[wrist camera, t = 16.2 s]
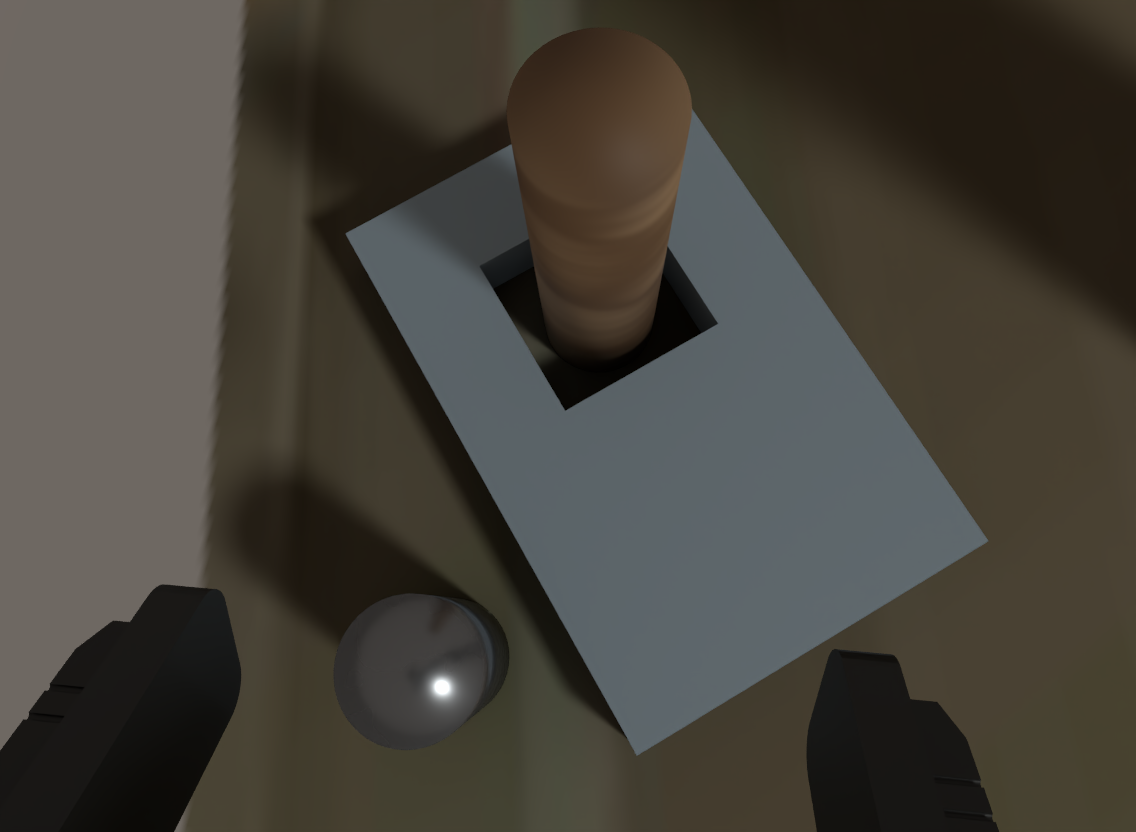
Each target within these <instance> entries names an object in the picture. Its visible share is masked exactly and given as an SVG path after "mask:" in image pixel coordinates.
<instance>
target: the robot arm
mask: <svg viewBox="0 0 1136 832" xmlns="http://www.w3.org/2000/svg"><path fill="white" fill-rule="evenodd" d="M240 685H241V667H240V662H239V658H238V653H237V649H236V645H235V640H234V636H233V632H232V628H231V623H230V619H229V615H228V610H227V606H226V602H225V598H224V596H223V594H222V593H221V591H219V590H217V589H207V588H196V587H185V586H175V585H159V586H158V587H156V588H155V589H154V590H153V591H152V592H151V593H150V594H149V596H148V597H147V598H146V600H145V601H144V603H143V604H142V606H141V607H140V609H139V610H138V611H137V613H136V614H135V616H134V617H133V619H132V620H131V621H130V622H122V621H112V622H111V623H109V624H108V625H107V626H105V627H104V628H103V629H101V630H100V631H99V632H97V633H96V634H95V635H93V636H92V637H91V638H90V639H88V640H87V641H86V642H84V643H83V644H82V645H80V646H79V647H78V648H76V649H75V651H74V652H73V653H72V655H71V656H70V657H69V659H68V660H67V661H66V663H65V664H64V665H63V667H62V668H61V670H60V671H59V672H58V673H57V675H56V676H55V678H54V679H53V680H52V682H51V683H50V688H49V690H48V691H44V693H43V694H42V695H41V696H40V698H39V699H38V700H37V702H36V703H35V705H34V706H33V707H32V709H31V710H30V711H29V717H28V719H27V720H23V721H22V722H21V724H20V725H19V726H18V727H17V729H16V730H15V732H14V733H13V734H12V736H11V737H10V738H9V740H8V741H7V742H6V744H5V745H4V746H3V748H2V749H1V750H0V832H174V831H175V829H176V827H177V825H178V823H179V821H180V819H181V817H182V815H183V813H184V811H185V809H186V807H187V805H188V803H189V801H190V799H191V797H192V795H193V793H194V791H195V789H196V787H197V785H198V783H199V781H200V779H201V777H202V775H203V773H204V771H205V769H206V767H207V765H208V763H209V761H210V759H211V757H212V755H213V753H214V751H215V749H216V747H217V745H218V743H219V741H220V739H221V737H222V735H223V733H224V731H225V729H226V727H227V725H228V723H229V721H230V719H231V717H232V715H233V712H234V710H235V707H236V704H237V700H238V696H239V692H240ZM807 771H808V779H809V785H810V791H811V797H812V803H813V810H814V816H815V822H816V828H817V832H999V830H998V827H997V824H996V822H993V820H992V814H993V813H992V810H991V807H990V804H989V802H988V799H987V796H986V793H985V790H984V788H981V785H980V781H981V779H980V776H979V773H978V770H977V767H976V764H975V762H974V759H973V756H972V753H971V750H970V747H969V744H968V742H967V739H966V737H965V736H964V735H963V734H962V732H961V731H960V730H959V729H958V727H957V726H956V725H955V724H954V722H953V721H952V720H951V719H950V717H949V716H948V715H947V714H946V712H945V711H944V710H943V709H942V707H941V706H940V705H939V704H938V702H932V701H922V700H912V699H910V697H909V694H908V690H907V687H906V684H905V680H904V677H903V674H902V670H901V667H900V664H899V662H898V660H897V658H896V657H895V656H894V655H891V654H881V653H870V652H859V651H849V650H838V649H834V650H832V652H831V653H830V655H829V658H828V661H827V664H826V668H825V671H824V675H823V678H822V682H821V685H820V689H819V692H818V696H817V699H816V703H815V706H814V710H813V713H812V717H811V720H810V724H809V729H808V736H807Z"/></svg>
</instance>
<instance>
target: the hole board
mask: <svg viewBox="0 0 1136 832" xmlns="http://www.w3.org/2000/svg"><path fill="white" fill-rule="evenodd" d="M346 236H347V237H348V239H349V241H350V243H351V245H352V246H353V248H354V250H355V252H356V254H357V255H358V257H359V259H360V261H361V262H362V264H363V266H364V268H365V270H366V271H367V273H368V275H369V277H370V279H371V280H372V282H373V284H374V286H375V288H376V289H377V291H378V293H379V295H380V297H381V298H382V300H383V302H384V304H385V305H386V307H387V309H388V311H389V313H390V314H391V316H392V318H393V320H394V322H395V323H396V325H397V327H398V329H399V331H400V332H401V334H402V336H403V338H404V339H405V341H406V343H407V345H408V347H409V348H410V350H411V352H412V354H413V356H414V357H415V359H416V361H417V363H418V365H419V366H420V368H421V370H422V372H423V373H424V375H425V377H426V379H427V381H428V382H429V384H430V386H431V388H432V390H433V391H434V393H435V395H436V397H437V399H438V400H439V402H440V404H441V406H442V407H443V409H444V411H445V413H446V415H447V416H448V418H449V420H450V422H451V424H452V425H453V427H454V429H455V431H456V433H457V434H458V436H459V438H460V440H461V441H462V443H463V445H464V447H465V449H466V450H467V452H468V454H469V456H470V458H471V459H472V461H473V463H474V465H475V467H476V468H477V470H478V472H479V474H480V475H481V477H482V479H483V481H484V483H485V484H486V486H487V488H488V490H489V492H490V493H491V495H492V497H493V499H494V501H495V502H496V504H497V506H498V508H499V510H500V511H501V513H502V515H503V517H504V518H505V520H506V522H507V524H508V526H509V527H510V529H511V531H512V533H513V535H514V536H515V538H516V540H517V542H518V544H519V545H520V547H521V549H522V551H523V552H524V554H525V556H526V558H527V560H528V561H529V563H530V565H531V567H532V569H533V570H534V572H535V574H536V576H537V578H538V579H539V581H540V583H541V585H542V586H543V588H544V590H545V592H546V594H547V595H548V597H549V599H550V601H551V603H552V604H553V606H554V608H555V610H556V612H557V613H558V615H559V617H560V619H561V620H562V622H563V624H564V626H565V628H566V629H567V631H568V633H569V635H570V637H571V638H572V640H573V642H574V644H575V646H576V647H577V649H578V651H579V653H580V654H581V656H582V658H583V660H584V662H585V663H586V665H587V667H588V669H589V671H590V672H591V674H592V676H593V678H594V680H595V681H596V683H597V685H598V687H599V688H600V690H601V692H602V694H603V696H604V697H605V699H606V701H607V703H608V705H609V706H610V708H611V710H612V712H613V714H614V715H615V717H616V719H617V721H618V723H619V724H620V726H621V728H622V730H623V731H624V733H625V735H626V737H627V739H628V740H629V742H630V744H631V746H632V748H633V749H634V751H635V753H636V755H639V754H640V753H642V752H644V751H645V750H647V749H649V748H650V747H652V746H653V745H655V744H657V743H658V742H660V741H662V740H663V739H665V738H667V737H668V736H670V735H671V734H673V733H675V732H676V731H678V730H680V729H681V728H683V727H685V726H686V725H688V724H689V723H691V722H693V721H694V720H696V719H698V718H699V717H701V716H703V715H704V714H706V713H708V712H709V711H711V710H712V709H714V708H716V707H717V706H719V705H721V704H722V703H724V702H726V701H727V700H729V699H730V698H732V697H734V696H735V695H737V694H739V693H740V692H742V691H744V690H745V689H747V688H749V687H750V686H752V685H753V684H755V683H757V682H758V681H760V680H762V679H763V678H765V677H767V676H768V675H770V674H771V673H773V672H775V671H776V670H778V669H780V668H781V667H783V666H785V665H786V664H788V663H789V662H791V661H793V660H794V659H796V658H798V657H799V656H801V655H803V654H804V653H806V652H808V651H809V650H811V649H812V648H814V647H816V646H817V645H819V644H821V643H822V642H824V641H826V640H827V639H829V638H830V637H832V636H834V635H835V634H837V633H839V632H840V631H842V630H844V629H845V628H847V627H849V626H850V625H852V624H853V623H855V622H857V621H858V620H860V619H862V618H863V617H865V616H867V615H868V614H870V613H871V612H873V611H875V610H876V609H878V608H880V607H881V606H883V605H885V604H886V603H888V602H889V601H891V600H893V599H894V598H896V597H898V596H899V595H901V594H903V593H904V592H906V591H908V590H909V589H911V588H912V587H914V586H916V585H917V584H919V583H921V582H922V581H924V580H926V579H927V578H929V577H930V576H932V575H934V574H935V573H937V572H939V571H940V570H942V569H944V568H945V567H947V566H949V565H950V564H952V563H953V562H955V561H957V560H958V559H960V558H962V557H963V556H965V555H967V554H968V553H970V552H971V551H973V550H975V549H976V548H978V547H980V546H981V545H983V544H985V543H986V542H988V540H987V538H986V537H985V535H984V534H983V532H982V531H981V530H980V528H979V527H978V525H977V524H976V522H975V521H974V519H973V518H972V516H971V515H970V514H969V512H968V511H967V509H966V508H965V506H964V505H963V503H962V502H961V500H960V499H959V498H958V496H957V495H956V493H955V492H954V490H953V489H952V487H951V486H950V484H949V483H948V481H947V480H946V479H945V477H944V476H943V474H942V473H941V471H940V470H939V468H938V467H937V465H936V464H935V463H934V461H933V460H932V458H931V457H930V455H929V454H928V452H927V451H926V449H925V448H924V446H923V445H922V444H921V442H920V441H919V439H918V438H917V436H916V435H915V433H914V432H913V430H912V429H911V428H910V426H909V425H908V423H907V422H906V420H905V419H904V417H903V416H902V414H901V413H900V411H899V410H898V409H897V407H896V406H895V404H894V403H893V401H892V400H891V398H890V397H889V395H888V394H887V393H886V391H885V390H884V388H883V387H882V385H881V384H880V382H879V381H878V379H877V378H876V377H875V375H874V374H873V372H872V371H871V369H870V368H869V366H868V365H867V363H866V362H865V360H864V359H863V358H862V356H861V355H860V353H859V352H858V350H857V349H856V347H855V346H854V344H853V343H852V342H851V340H850V339H849V337H848V336H847V334H846V333H845V331H844V330H843V328H842V327H841V325H840V324H839V323H838V321H837V320H836V318H835V317H834V315H833V314H832V312H831V311H830V309H829V308H828V307H827V305H826V304H825V302H824V301H823V299H822V298H821V296H820V295H819V293H818V292H817V290H816V289H815V288H814V286H813V285H812V283H811V282H810V280H809V279H808V277H807V276H806V274H805V273H804V272H803V270H802V269H801V267H800V266H799V264H798V263H797V261H796V260H795V258H794V257H793V255H792V254H791V253H790V251H789V250H788V248H787V247H786V245H785V244H784V242H783V241H782V239H781V238H780V237H779V235H778V234H777V232H776V231H775V229H774V228H773V226H772V225H771V223H770V222H769V221H768V219H767V218H766V216H765V215H764V213H763V212H762V210H761V209H760V207H759V206H758V204H757V203H756V202H755V200H754V199H753V197H752V196H751V194H750V193H749V191H748V190H747V188H746V187H745V186H744V184H743V183H742V181H741V180H740V178H739V177H738V175H737V174H736V172H735V171H734V169H733V168H732V167H731V165H730V164H729V162H728V161H727V159H726V158H725V156H724V155H723V153H722V152H721V151H720V149H719V148H718V146H717V145H716V143H715V142H714V140H713V139H712V137H711V136H710V134H709V133H708V132H707V130H706V129H705V127H704V126H703V124H702V123H701V121H700V120H699V118H698V117H697V116H696V114H695V113H694V111H693V110H692V117H691V123H690V129H689V134H688V139H687V145H686V150H685V155H684V161H683V166H682V171H681V177H680V182H679V187H678V193H677V198H676V203H675V209H674V214H673V219H672V225H671V230H670V235H669V241H668V246H667V251H666V257H665V262H664V267H663V275H664V276H665V278H666V279H667V281H668V282H669V284H670V285H671V287H672V289H673V290H674V292H675V293H676V295H677V296H678V298H679V299H680V301H681V303H682V304H683V306H684V307H685V309H686V310H687V312H688V313H689V315H690V317H691V318H692V320H693V321H694V323H695V324H696V326H697V327H698V329H699V330H700V332H701V334H699V335H698V336H696V337H694V338H692V339H691V340H689V341H687V342H685V343H684V344H682V345H680V346H678V347H677V348H675V349H673V350H671V351H669V352H668V353H666V354H664V355H662V356H661V357H659V358H657V359H655V360H654V361H652V362H650V363H648V364H647V365H645V366H643V367H641V368H640V369H638V370H636V371H634V372H633V373H631V374H629V375H627V376H626V377H624V378H622V379H620V380H619V381H617V382H615V383H613V384H612V385H610V386H608V387H606V388H604V389H603V390H601V391H599V392H597V393H596V394H594V395H592V396H590V397H589V398H587V399H585V400H583V401H582V402H580V403H578V404H576V405H575V406H573V407H571V408H569V409H568V410H566V411H565V410H564V408H563V406H562V405H561V403H560V401H559V400H558V398H557V396H556V395H555V393H554V391H553V389H552V388H551V386H550V384H549V383H548V381H547V379H546V378H545V376H544V374H543V373H542V371H541V369H540V368H539V366H538V364H537V362H536V361H535V359H534V357H533V356H532V354H531V352H530V351H529V349H528V347H527V346H526V344H525V342H524V341H523V339H522V337H521V335H520V334H519V332H518V330H517V329H516V327H515V325H514V324H513V322H512V320H511V319H510V317H509V315H508V314H507V312H506V310H505V308H504V307H503V305H502V303H501V302H500V300H499V298H498V297H497V295H496V293H495V292H494V290H493V289H494V288H496V287H497V286H499V285H501V284H503V283H505V282H507V281H508V280H510V279H512V278H514V277H516V276H517V275H519V274H521V273H523V272H525V271H526V270H528V269H530V268H532V267H534V263H533V257H532V252H531V247H530V241H529V236H528V231H527V225H526V220H525V214H524V209H523V204H522V198H521V193H520V187H519V182H518V177H517V171H516V166H515V161H514V155H513V150H512V144H511V145H509V146H507V147H505V148H504V149H502V150H500V151H498V152H496V153H494V154H492V155H491V156H489V157H487V158H485V159H483V160H481V161H479V162H478V163H476V164H474V165H472V166H470V167H468V168H466V169H465V170H463V171H461V172H459V173H457V174H455V175H453V176H452V177H450V178H448V179H446V180H444V181H442V182H440V183H438V184H437V185H435V186H433V187H431V188H429V189H427V190H425V191H424V192H422V193H420V194H418V195H416V196H414V197H412V198H411V199H409V200H407V201H405V202H403V203H401V204H399V205H398V206H396V207H394V208H392V209H390V210H388V211H386V212H385V213H383V214H381V215H379V216H377V217H375V218H373V219H372V220H370V221H368V222H366V223H364V224H362V225H360V226H359V227H357V228H355V229H353V230H351V231H349V232H347V233H346Z"/></svg>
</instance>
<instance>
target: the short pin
mask: <svg viewBox="0 0 1136 832" xmlns="http://www.w3.org/2000/svg"><path fill="white" fill-rule="evenodd" d="M508 667H509V647H508V642H507V638H506V635H505V633H504V631H503V628H502V627H501V625H500V623H499V622H498V620H497V619H496V618H495V617H494V616H493V615H492V614H491V613H490V612H489V611H488V610H487V609H485V608H484V607H482V606H481V605H479V604H477V603H475V602H472V601H469V600H466V599H461V598H452V597H443V596H433V595H424V594H400V595H395V596H391V597H388V598H385V599H382V600H380V601H378V602H376V603H374V604H373V605H371V606H370V607H368V608H367V609H365V610H364V611H363V612H362V613H361V614H360V615H358V617H357V618H356V619H355V620H354V621H353V622H352V623H351V625H350V626H349V628H348V629H347V630H346V632H345V634H344V636H343V638H342V640H341V642H340V644H339V647H338V650H337V654H336V658H335V664H334V686H335V692H336V696H337V699H338V702H339V704H340V707H341V709H342V711H343V713H344V715H345V716H346V718H347V719H348V721H349V722H350V723H351V725H352V726H353V727H354V728H355V729H356V730H357V731H358V732H359V733H360V734H362V735H363V736H364V737H366V738H367V739H369V740H371V741H372V742H374V743H376V744H379V745H381V746H384V747H388V748H392V749H399V750H412V749H419V748H424V747H427V746H430V745H433V744H435V743H437V742H439V741H441V740H443V739H445V738H446V737H448V736H449V735H451V734H452V733H453V732H454V731H456V730H457V729H458V728H459V727H461V726H462V725H463V724H464V723H465V722H467V721H468V720H469V719H470V718H472V717H473V716H474V715H475V714H476V713H478V712H479V711H480V710H481V709H482V708H484V707H485V706H486V705H487V704H488V703H489V702H491V701H492V699H493V698H494V697H495V696H496V695H497V693H498V692H499V690H500V689H501V687H502V685H503V683H504V681H505V678H506V675H507V671H508Z"/></svg>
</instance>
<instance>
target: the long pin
mask: <svg viewBox="0 0 1136 832" xmlns="http://www.w3.org/2000/svg"><path fill="white" fill-rule="evenodd" d="M691 117H692V104H691V96H690V92H689V88H688V85H687V82H686V80H685V77H684V75H683V74H682V72H681V70H680V69H679V67H678V65H677V64H676V63H675V62H674V60H673V59H672V58H671V57H670V56H669V55H668V54H667V53H666V52H665V51H664V50H663V49H661V48H660V47H659V46H657V45H656V44H655V43H653V42H651V41H649V40H648V39H646V38H644V37H642V36H639V35H637V34H634V33H631V32H628V31H624V30H619V29H613V28H588V29H582V30H577V31H573V32H570V33H567V34H564V35H561V36H559V37H557V38H555V39H553V40H551V41H549V42H548V43H546V44H545V45H543V46H542V47H540V48H539V49H538V50H537V51H535V52H534V53H533V54H532V55H531V56H530V57H529V58H528V59H527V60H526V62H525V63H524V64H523V66H522V67H521V68H520V70H519V71H518V73H517V75H516V77H515V79H514V81H513V83H512V86H511V88H510V92H509V96H508V101H507V123H508V128H509V134H510V139H511V144H512V150H513V155H514V161H515V166H516V171H517V177H518V182H519V187H520V193H521V198H522V204H523V209H524V214H525V220H526V225H527V231H528V236H529V241H530V247H531V252H532V257H533V263H534V268H535V274H536V279H537V284H538V290H539V295H540V301H541V306H542V311H543V317H544V322H545V328H546V332H547V336H548V339H549V341H550V343H551V345H552V347H553V348H554V350H555V351H556V352H557V354H558V355H559V356H560V357H561V358H562V359H564V360H565V361H566V362H568V363H569V364H571V365H573V366H575V367H577V368H579V369H582V370H586V371H591V372H606V371H611V370H615V369H618V368H621V367H623V366H625V365H627V364H628V363H630V362H631V361H633V360H634V359H635V358H636V357H637V356H638V355H639V354H640V353H641V352H642V351H643V349H644V348H645V346H646V344H647V342H648V340H649V338H650V335H651V331H652V326H653V321H654V315H655V310H656V305H657V299H658V294H659V289H660V283H661V278H662V273H663V267H664V262H665V257H666V251H667V246H668V241H669V235H670V230H671V225H672V219H673V214H674V209H675V203H676V198H677V193H678V187H679V182H680V177H681V171H682V166H683V161H684V155H685V150H686V145H687V139H688V134H689V129H690V123H691Z"/></svg>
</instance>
